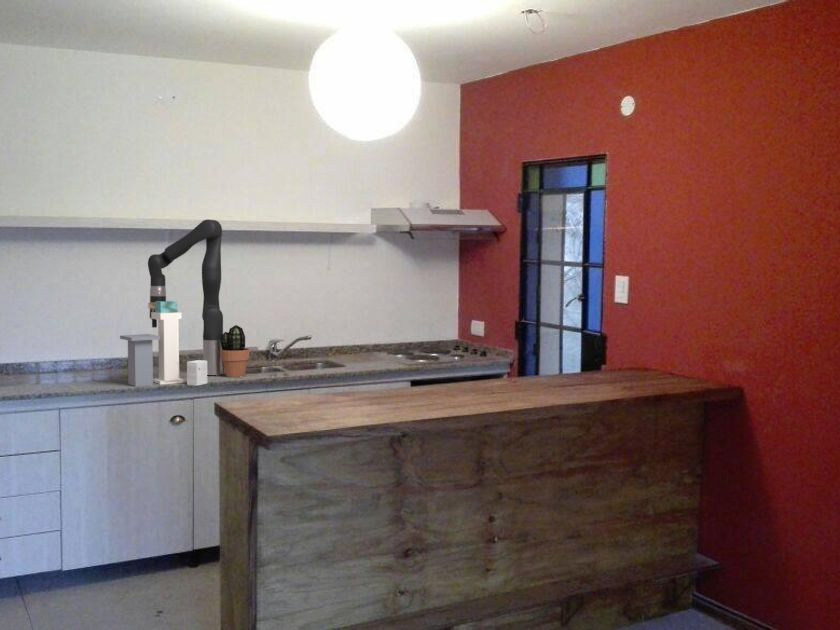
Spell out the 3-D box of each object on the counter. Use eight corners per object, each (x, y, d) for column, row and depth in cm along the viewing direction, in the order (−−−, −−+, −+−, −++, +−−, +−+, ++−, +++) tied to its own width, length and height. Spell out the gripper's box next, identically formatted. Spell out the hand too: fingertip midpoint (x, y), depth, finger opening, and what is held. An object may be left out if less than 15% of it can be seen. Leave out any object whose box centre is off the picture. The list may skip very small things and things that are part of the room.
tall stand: (173, 379, 395) (173, 311, 393) (183, 382, 388) (182, 312, 386) (151, 382, 388) (150, 312, 386) (160, 384, 381) (159, 313, 378)
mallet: (159, 310, 401) (158, 299, 401) (177, 312, 386) (177, 301, 386) (142, 310, 396) (142, 300, 396) (160, 313, 381) (160, 302, 381)
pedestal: (148, 381, 389) (148, 334, 387) (160, 385, 379) (160, 336, 378) (120, 384, 380) (119, 335, 379) (132, 387, 371) (131, 337, 369)
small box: (197, 382, 387) (197, 359, 387) (207, 383, 385) (207, 360, 385) (186, 385, 380) (186, 361, 379) (197, 385, 378) (196, 362, 377)
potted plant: (248, 374, 417) (247, 323, 416) (251, 377, 404) (251, 325, 403) (219, 375, 413) (219, 323, 411) (222, 378, 400) (221, 326, 398)
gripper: (171, 295, 413) (171, 328, 414) (159, 294, 424) (159, 326, 425) (156, 295, 408) (157, 329, 409) (144, 294, 419) (144, 327, 420)
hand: (158, 328), depth 417 cm, fingers open, 8 cm apart
